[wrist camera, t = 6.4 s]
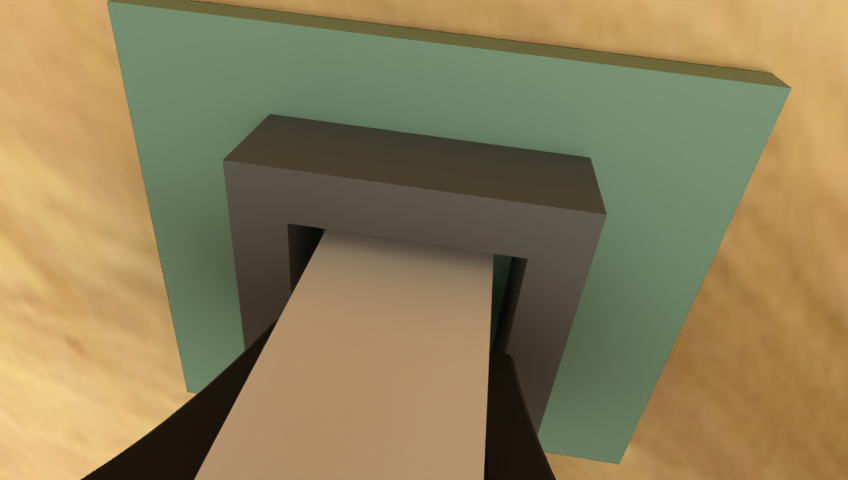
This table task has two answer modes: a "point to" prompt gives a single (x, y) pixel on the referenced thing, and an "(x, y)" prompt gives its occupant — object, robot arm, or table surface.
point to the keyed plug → (369, 370)
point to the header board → (442, 185)
